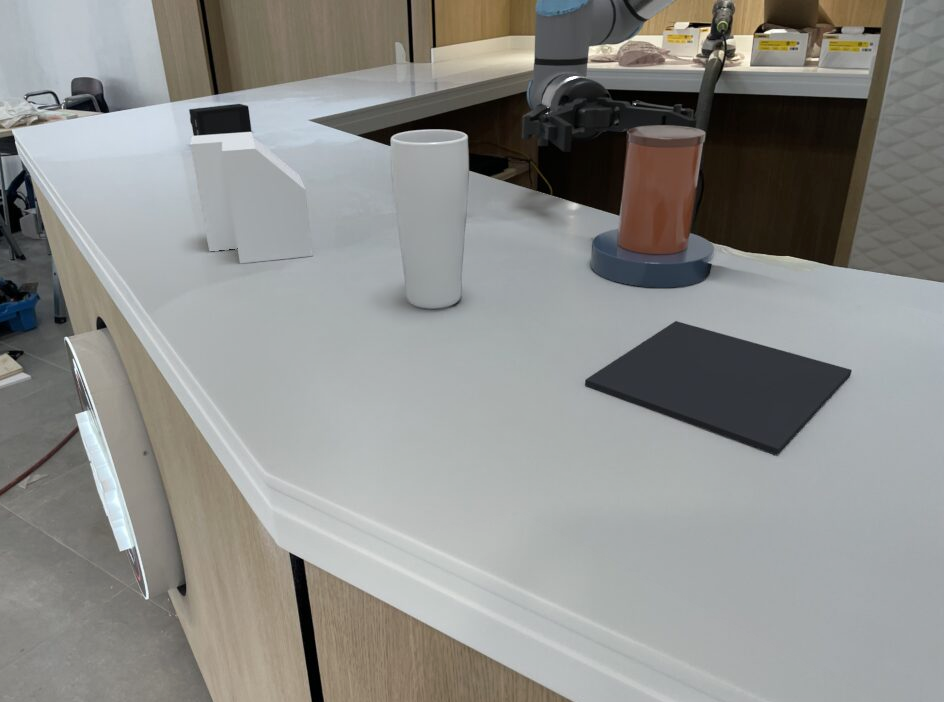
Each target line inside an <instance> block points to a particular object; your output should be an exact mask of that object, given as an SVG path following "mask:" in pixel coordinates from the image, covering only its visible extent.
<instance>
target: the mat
mask: <svg viewBox="0 0 944 702" xmlns="http://www.w3.org/2000/svg"><path fill="white" fill-rule="evenodd" d="M851 374H852V369H850V368H848V367H847V368H846V367H844V366H839V365H835V364H832V363H829V362H825V361H822V360H818V359H814V358H810V357H807V356H803V355H800V354H797V353H793V352H789V351H785V350H782V349H778V348H774V347H771V346H767V345H764V344H761V343H757V342H754V341H749V340H745V339H742V338H738V337H735V336H731V335H728V334H724V333H720V332H717V331H713V330H710V329H706V328H703V327H699V326H695V325H691V324H689V323H685V322H681V321H678V320H675V321H673V322H672V323H670V324H669V325H667V326H666V327H664V328H663V329H661V330H659V331H658V332H657V333H655V334H653V335H652V336H650V337H649V338H648V339H646V340H644V341H642V342H641V343H639V344H637V345H636V346H635V347H633V348H632V349H630V350H629V351H627V352H626V353H624V354H622V355H620V356H619V357H617V358H616V359H614V360H613V361H612V362H610V363H609V364H607V365H606V366H604V367H602V368H600V370H598V371H597V372H594V373H593V374H591V375H590V376H589V377H587V378H586V379H585V380H584V385H585V387H589V388H592V389H594V390H597V391H600V392H602V393H605V394H608V395H611V396H612V397H613V396H614V397H616V398H619V399H622V400H624V401H627V402H630V403H632V404H635V405H638V406H641V407H643V408H647V409H649V410H652V411H655V412H657V413H660V414H663V415H665V416H668V417H670V418H674V419H676V420H679V421H681V422H684V423H688V424H690V425H693V426H696V427H698V428H701V429H704V430H707V431H709V432H711V433H715V434H717V435H720V436H723V437H726V438H729V439H731V440H733V441H736V442H739V443H742V444H744V445H747V446H750V447H753V448H755V449H758V450H761V451H763V452H767V453H769V454H771V455H774V456H778V455H779V454H780V453H781V452H782V451H783V450H784V449H785V448H786V446H787V445H788V444H790V442H791V441H792V440H793V439H794V438H795V437H796V436H797V434H798V433H799V432H800V431H801V430H802V429H803V428H804V427H805V426H806V425H807V423H808V422H809V421H810V420H811V419H812V418H813V417H814V416H815V415H816V414H817V413H818V411H820V409H821V408H822V407H823V406H824V405H825V404H826V403H827V402H828V401H829V400H830V399H831V397H832V396H833V395H834V394H835V393H836V392H837V391H838V389H840V388H841V387H842V385H843V384H844V383H845V382H846V381H847V380H848V379H849V378H850V377H851Z"/></svg>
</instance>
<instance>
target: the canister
mask: <svg viewBox="0 0 944 702" xmlns="http://www.w3.org/2000/svg"><path fill="white" fill-rule="evenodd" d="M706 135H707V134H706V131H704V130H702V129H700V128H697V127H696V128H691V127H684V126H669V125H655V126H641V127H635V128H631V129H627V130H626V136H625V140H626V146H625V158H624V167H623V178H622V186H621V198H620V208H619V209H620V210H619V219H618V228H617V229H618V238H617V243H618V245H619V246H620V247H622V248H624V249H626V250H629V251H633V252H637V253H643V254H654V255H663V254H673V253H678V252H681V251H684V250H685V249H687V247H688V244H689V237H690V233H691V231H692V228H691V227H692V223H693V215H694V209H695V202H696V196H697V190H698V189H697V188H698V181H699V175H700V168H701V162H702V155H703V146H704V143H705V142H706Z"/></svg>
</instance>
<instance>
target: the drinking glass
mask: <svg viewBox="0 0 944 702" xmlns="http://www.w3.org/2000/svg"><path fill="white" fill-rule="evenodd" d="M469 150H470V149H469V135H468V134H466V133H465V132H463V131H458V130H453V129H416V130H415V129H414V130H408V131H403V132H398V133H396V134H395V133H394V134H393V135H392V136H390V175H391V186H392V194H393V195H392V196H393V203H394V209H395V210H394V211H395V217H396V225H397V232H398V239H399V246H400V254H401V263H402V269H403V278H404V294H405V295H404V296H405V299H406V300H407V302H408V303H409V304H410V305H413V306H415V307H417V308H421V309H427V310H436V309H444V308H448V307H452V306H453V305H455V304H456V303H458V302H459V301H460V300H461V299H462V295H463V268H464V267H463V266H464V254H465V253H464V252H465V240H466V239H465V238H466V227H467V226H466V225H467V217H468V216H467V215H468V205H469V204H468V203H469V189H470V188H469V187H470V153H469V152H470V151H469Z"/></svg>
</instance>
